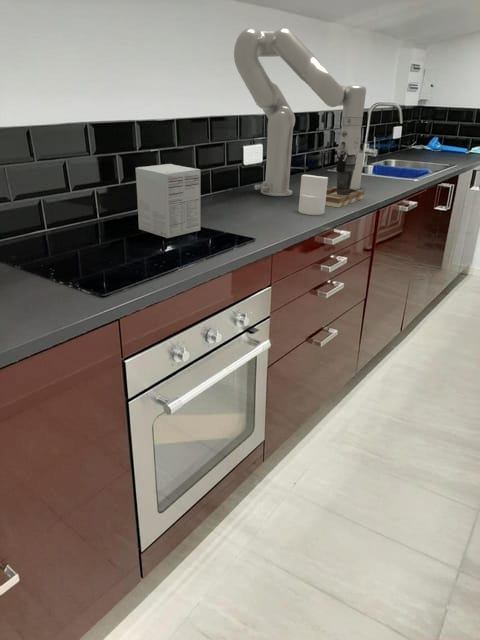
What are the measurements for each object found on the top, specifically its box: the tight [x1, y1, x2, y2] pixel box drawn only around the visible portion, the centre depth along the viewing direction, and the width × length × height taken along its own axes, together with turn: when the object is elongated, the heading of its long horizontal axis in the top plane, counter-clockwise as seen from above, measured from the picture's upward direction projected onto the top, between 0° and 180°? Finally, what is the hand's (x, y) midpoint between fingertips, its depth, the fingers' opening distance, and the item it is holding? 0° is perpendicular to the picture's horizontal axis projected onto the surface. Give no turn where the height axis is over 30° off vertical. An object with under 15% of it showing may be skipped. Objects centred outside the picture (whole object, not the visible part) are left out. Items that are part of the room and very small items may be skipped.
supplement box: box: [135, 163, 201, 239], centre depth 140 cm, size 13×13×18 cm
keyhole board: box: [325, 185, 365, 208], centre depth 189 cm, size 22×13×3 cm, turn 144°
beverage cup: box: [336, 154, 356, 195], centre depth 189 cm, size 7×7×20 cm
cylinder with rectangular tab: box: [298, 174, 329, 216], centre depth 169 cm, size 9×9×12 cm
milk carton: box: [350, 148, 365, 190], centre depth 212 cm, size 7×7×19 cm
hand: (345, 170), depth 190 cm, fingers open, 8 cm apart
